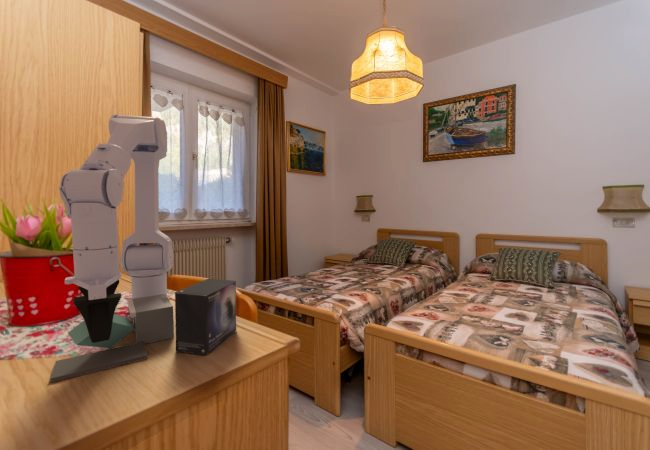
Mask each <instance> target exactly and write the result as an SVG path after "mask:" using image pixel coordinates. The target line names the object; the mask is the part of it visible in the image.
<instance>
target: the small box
mask: <svg viewBox="0 0 650 450" xmlns="http://www.w3.org/2000/svg"><path fill="white" fill-rule="evenodd" d="M236 291H237V280H230V279H220V278H210V277H209V278H207V279H204V280H202V281H199V282H197V283H195V284H192V285H190V286H187V287H184V288H183V289H180V290H177V291H175V292H174V302H175V303H174V307H175V308H174V312H175V314H174V315H175V316H174V317H175V352H177V353H178V352H179V353H185V354H187V353H188V354H192V355H194V354H195V355H203V356H207V355H209V354H210V353H212V351H214V350H215V349H216V348H217V347H219V346H220V345H221V344H222V343H223V342H225V341H226V340H227V339H229V338H230V336H232V335H233V334H234V333H236V332H237V296H236V295H237V292H236ZM235 331H236V332H235Z"/></svg>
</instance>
